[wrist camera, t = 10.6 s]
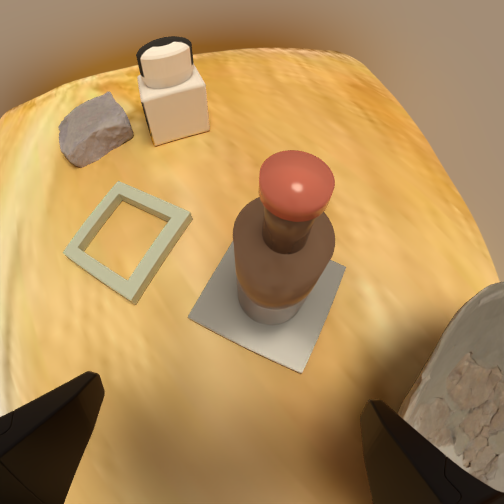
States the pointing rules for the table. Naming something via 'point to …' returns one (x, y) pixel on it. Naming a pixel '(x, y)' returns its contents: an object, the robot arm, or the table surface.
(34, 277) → the table surface
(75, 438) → the robot arm
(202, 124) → the medicine bottle
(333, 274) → the slate pad
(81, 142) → the stone block
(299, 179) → the sauce bottle
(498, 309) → the ceramic bowl
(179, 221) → the pocket frame
